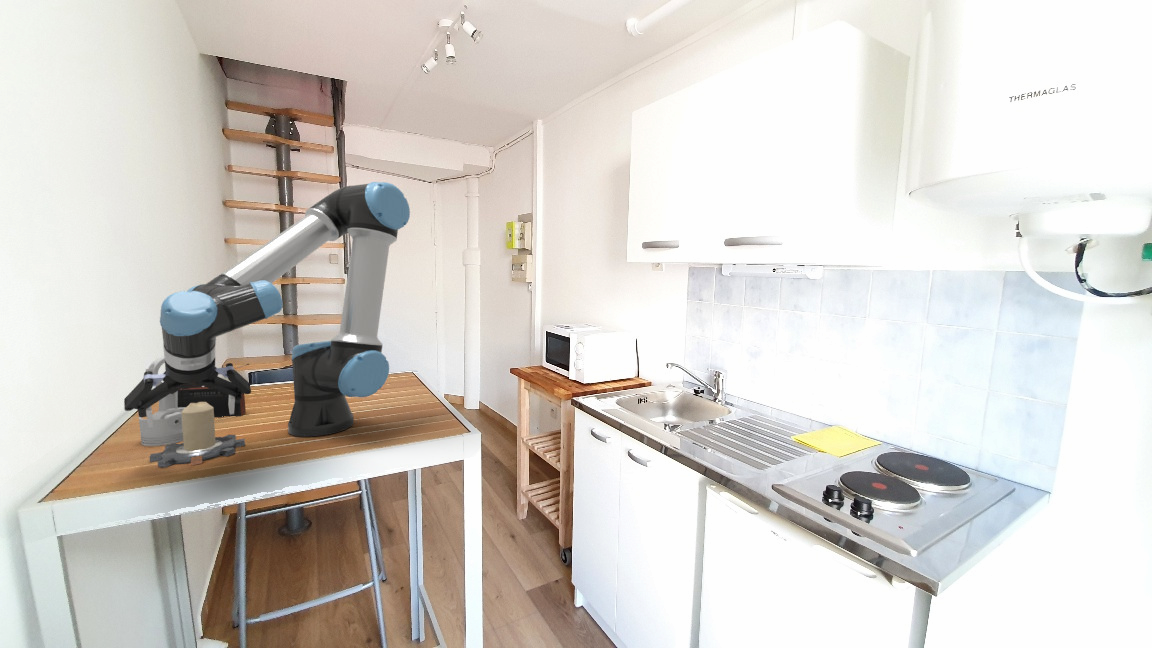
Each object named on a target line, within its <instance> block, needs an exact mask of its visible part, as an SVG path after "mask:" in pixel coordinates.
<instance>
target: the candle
mask: <svg viewBox="0 0 1152 648" xmlns="http://www.w3.org/2000/svg"><path fill="white" fill-rule="evenodd" d="M215 427H216V426H215V418H214V408H213V407H212V406H211V405H209V404H208V403H207V402H198V403H190V404H189V405H188V406H187V407H186V408H185V409H184V410H183V411H182V428H183V441H182V443H184V449H185V450H199V449H204V448H208V447H211V446H213V445H214V444H215V437H216V429H215Z"/></svg>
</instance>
